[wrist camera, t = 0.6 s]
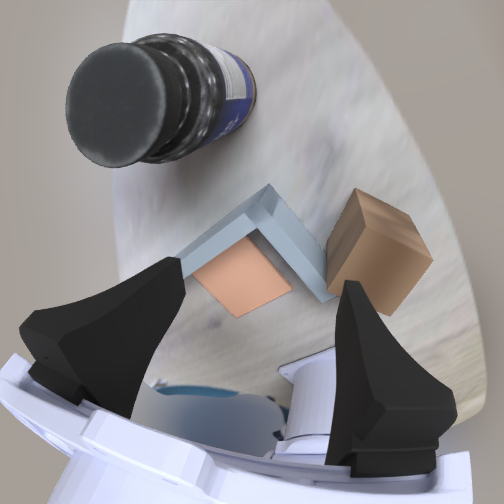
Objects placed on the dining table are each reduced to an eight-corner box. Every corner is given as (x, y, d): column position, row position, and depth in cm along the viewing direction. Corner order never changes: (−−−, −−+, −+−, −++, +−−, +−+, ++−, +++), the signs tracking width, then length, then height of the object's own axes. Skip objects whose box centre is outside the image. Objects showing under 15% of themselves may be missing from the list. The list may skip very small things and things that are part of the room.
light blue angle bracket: (336, 267, 22) (336, 296, 19) (227, 324, 28) (216, 350, 25) (269, 183, 20) (259, 201, 17) (166, 263, 26) (147, 286, 23)
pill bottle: (192, 148, 20) (90, 209, 11) (159, 75, 17) (36, 87, 8) (273, 115, 18) (217, 147, 8) (237, 35, 15) (145, -10, 6)
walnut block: (408, 215, 19) (433, 260, 14) (378, 263, 21) (390, 316, 16) (355, 187, 19) (366, 226, 14) (327, 240, 21) (326, 290, 16)
